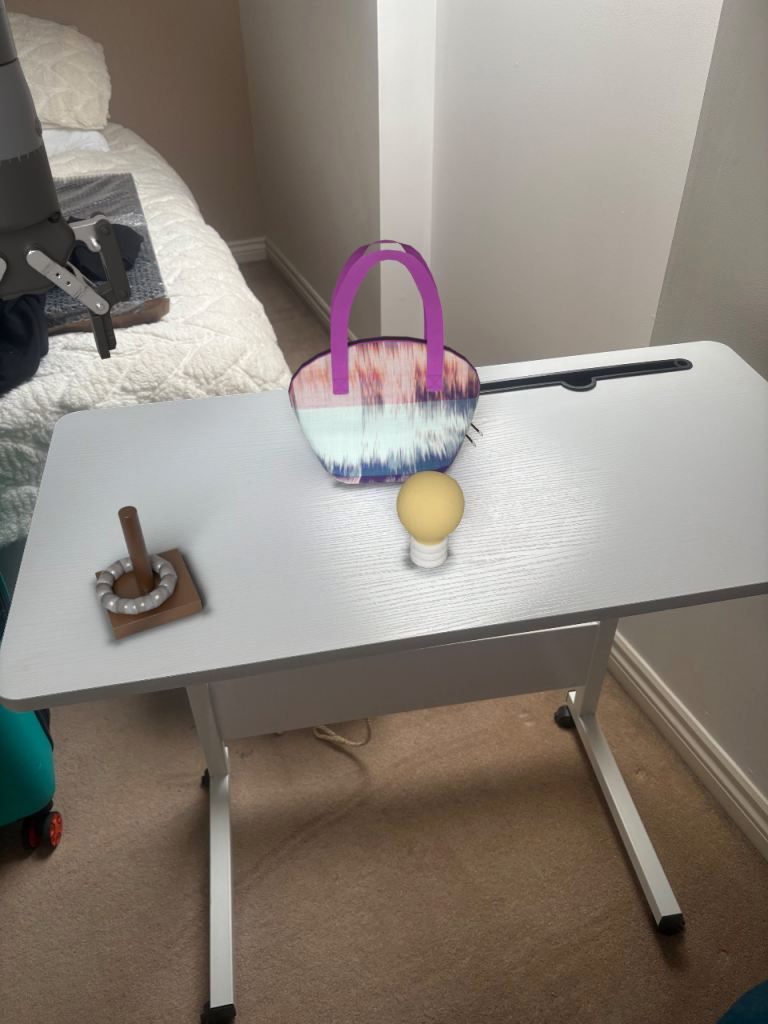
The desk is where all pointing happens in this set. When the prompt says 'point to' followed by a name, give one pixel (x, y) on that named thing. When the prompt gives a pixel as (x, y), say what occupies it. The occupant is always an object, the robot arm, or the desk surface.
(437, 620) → the desk surface
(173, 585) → the grey beaded ring
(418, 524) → the light bulb
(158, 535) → the desk surface
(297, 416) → the handbag
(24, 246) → the robot arm
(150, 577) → the stand
